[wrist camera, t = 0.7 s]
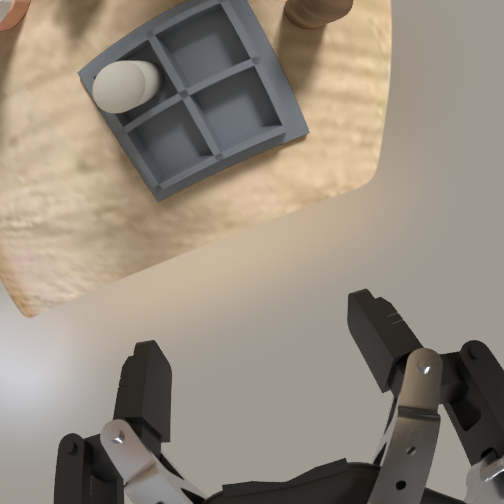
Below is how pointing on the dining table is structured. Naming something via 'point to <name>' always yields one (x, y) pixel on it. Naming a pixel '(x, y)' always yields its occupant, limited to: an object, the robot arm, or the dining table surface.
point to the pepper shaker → (12, 12)
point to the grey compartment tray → (201, 94)
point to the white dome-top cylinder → (127, 85)
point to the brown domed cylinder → (316, 11)
